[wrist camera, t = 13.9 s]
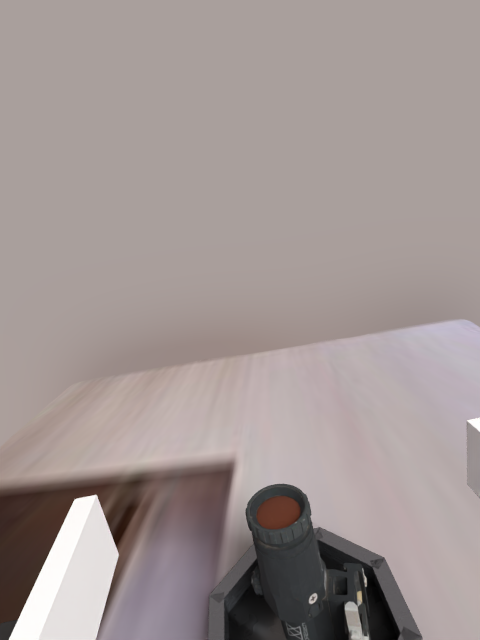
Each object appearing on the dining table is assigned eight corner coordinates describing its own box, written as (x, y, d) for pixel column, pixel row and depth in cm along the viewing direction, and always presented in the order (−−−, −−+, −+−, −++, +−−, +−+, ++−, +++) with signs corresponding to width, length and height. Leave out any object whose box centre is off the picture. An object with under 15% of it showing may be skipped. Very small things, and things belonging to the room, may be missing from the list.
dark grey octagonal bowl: (212, 795, 27) (204, 774, 26) (215, 567, 44) (210, 550, 44) (463, 743, 27) (462, 720, 26) (367, 534, 44) (365, 517, 43)
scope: (353, 554, 26) (218, 546, 29) (376, 689, 30) (254, 670, 33) (350, 472, 34) (243, 473, 37) (369, 589, 38) (270, 581, 41)
